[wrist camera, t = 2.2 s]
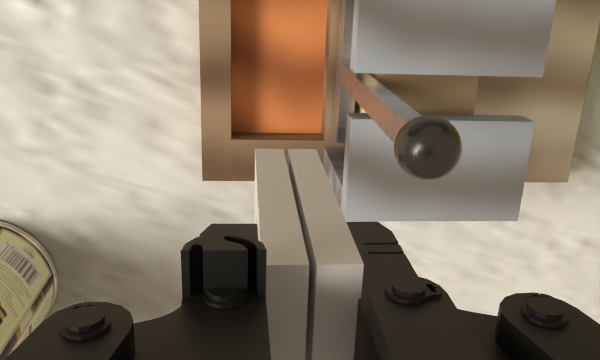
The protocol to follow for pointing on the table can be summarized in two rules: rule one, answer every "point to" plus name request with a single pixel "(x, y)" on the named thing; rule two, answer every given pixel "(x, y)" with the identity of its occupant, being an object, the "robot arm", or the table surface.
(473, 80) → the block
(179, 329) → the robot arm
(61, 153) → the table surface
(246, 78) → the bench vise
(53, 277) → the coffee can
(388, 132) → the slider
